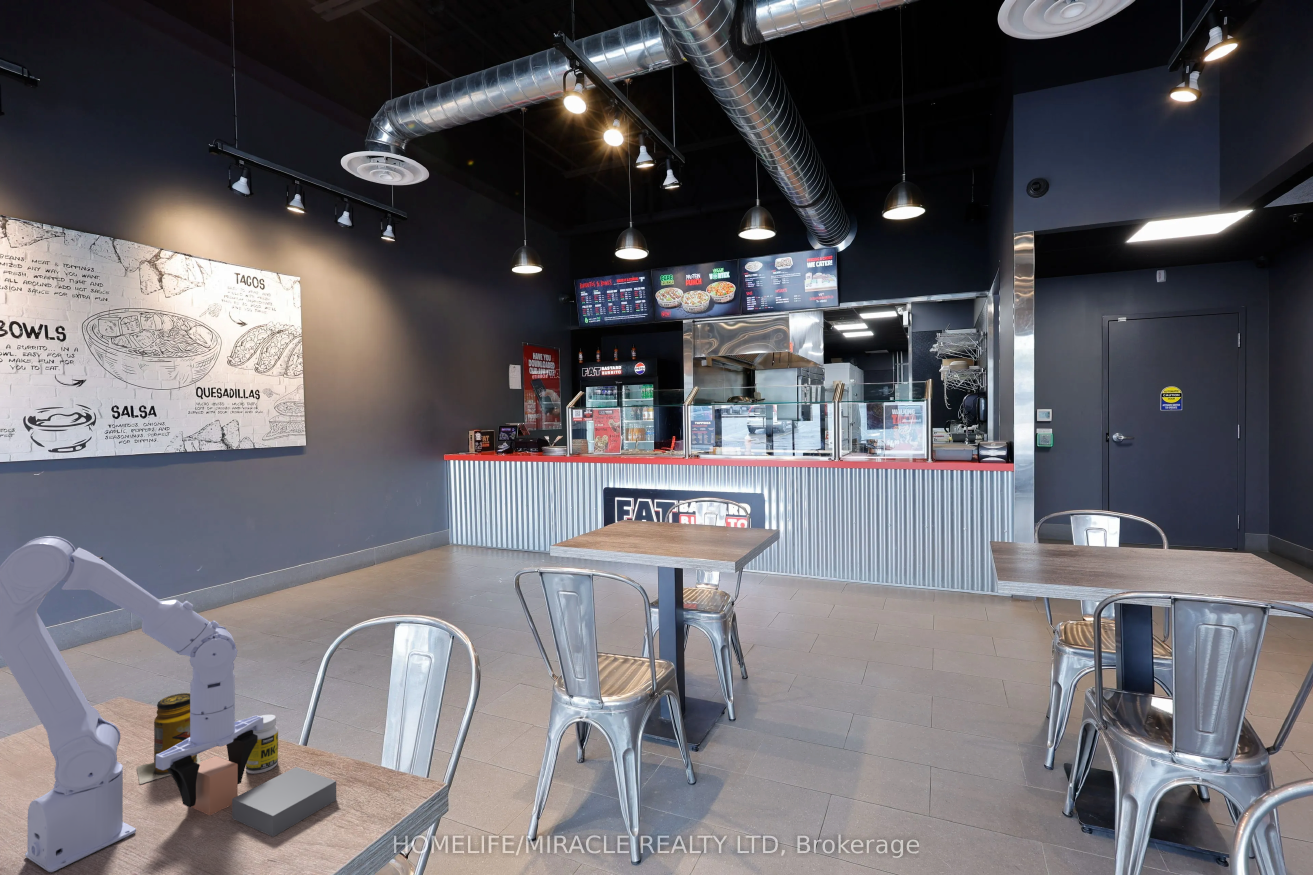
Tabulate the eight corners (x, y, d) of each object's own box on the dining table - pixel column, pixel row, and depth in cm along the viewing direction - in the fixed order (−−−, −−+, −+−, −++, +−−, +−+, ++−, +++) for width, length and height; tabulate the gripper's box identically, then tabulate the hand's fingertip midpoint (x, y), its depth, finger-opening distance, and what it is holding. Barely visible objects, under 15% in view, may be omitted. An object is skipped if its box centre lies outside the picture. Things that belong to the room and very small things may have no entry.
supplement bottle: (262, 775, 103) (262, 726, 103) (239, 773, 104) (239, 724, 104) (284, 761, 108) (284, 714, 108) (262, 758, 109) (262, 712, 109)
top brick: (209, 815, 92) (209, 776, 92) (188, 805, 95) (188, 767, 95) (237, 801, 96) (237, 763, 96) (215, 792, 99) (215, 755, 99)
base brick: (273, 836, 87) (272, 815, 87) (232, 818, 92) (232, 798, 92) (336, 799, 96) (336, 780, 96) (296, 784, 100) (296, 766, 101)
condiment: (202, 766, 107) (202, 698, 107) (139, 785, 101) (139, 713, 101) (196, 751, 112) (196, 686, 112) (136, 768, 106) (136, 700, 106)
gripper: (173, 731, 87) (173, 825, 87) (274, 693, 100) (274, 775, 100) (148, 722, 90) (147, 813, 90) (249, 686, 104) (249, 766, 103)
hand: (212, 792), depth 95 cm, fingers open, 6 cm apart
